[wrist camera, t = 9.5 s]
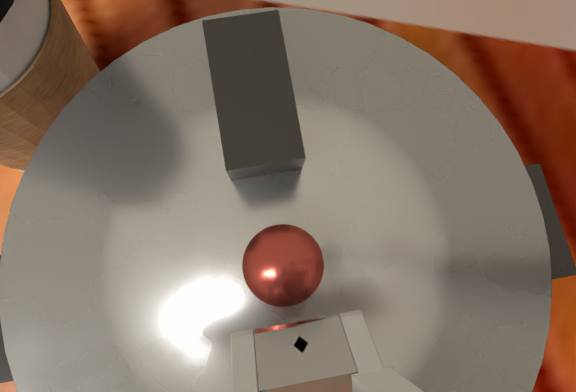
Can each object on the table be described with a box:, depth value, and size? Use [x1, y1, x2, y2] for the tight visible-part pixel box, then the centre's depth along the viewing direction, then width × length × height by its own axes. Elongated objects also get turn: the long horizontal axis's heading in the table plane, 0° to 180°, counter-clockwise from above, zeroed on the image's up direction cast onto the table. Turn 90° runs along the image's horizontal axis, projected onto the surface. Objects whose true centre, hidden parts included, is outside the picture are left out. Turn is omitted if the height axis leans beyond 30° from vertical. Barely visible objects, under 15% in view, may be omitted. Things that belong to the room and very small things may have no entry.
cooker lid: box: [0, 7, 552, 392], centre depth 12 cm, size 15×16×2 cm
